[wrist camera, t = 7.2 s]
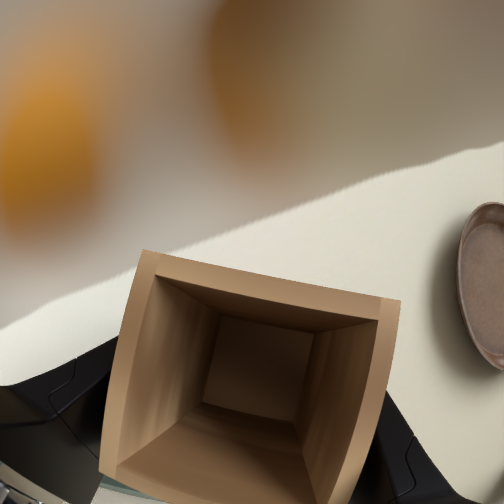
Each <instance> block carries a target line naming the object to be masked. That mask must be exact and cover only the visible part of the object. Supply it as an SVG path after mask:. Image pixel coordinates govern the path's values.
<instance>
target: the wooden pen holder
mask: <svg viewBox="0 0 504 504" xmlns="http://www.w3.org/2000/svg"><path fill="white" fill-rule="evenodd" d="M400 305H401V301H400V300H394V299H388V298H382V297H377V296H371V295H365V294H360V293H354V292H349V291H344V290H338V289H333V288H327V287H322V286H317V285H312V284H306V283H301V282H296V281H291V280H286V279H281V278H276V277H271V276H266V275H261V274H256V273H251V272H246V271H241V270H236V269H231V268H226V267H222V266H217V265H212V264H207V263H203V262H198V261H193V260H189V259H184V258H179V257H175V256H170V255H166V254H161V253H157V252H152V251H148V250H143V251H142V254H141V257H140V260H139V263H138V266H137V270H136V273H135V276H134V280H133V283H132V287H131V290H130V294H129V297H128V301H127V305H126V309H125V313H124V316H123V321H122V325H121V329H120V333H119V337H118V342H117V346H116V351H115V356H114V361H113V366H112V371H111V376H110V382H109V387H108V393H107V400H106V406H105V413H104V421H103V429H102V437H101V447H100V459H99V472H101V473H103V474H105V475H106V476H108V477H110V478H112V479H114V480H116V481H118V482H120V483H122V484H124V485H127V486H129V487H131V488H133V489H135V490H138V491H140V492H142V493H145V494H147V495H149V496H152V497H154V498H157V499H159V500H162V501H165V502H168V503H170V504H348V502H349V500H350V498H351V495H352V493H353V491H354V488H355V486H356V484H357V481H358V479H359V476H360V473H361V471H362V468H363V466H364V463H365V460H366V457H367V454H368V451H369V448H370V445H371V442H372V439H373V436H374V433H375V430H376V426H377V423H378V419H379V416H380V412H381V408H382V404H383V400H384V396H385V392H386V388H387V384H388V379H389V374H390V369H391V364H392V359H393V354H394V348H395V342H396V336H397V329H398V322H399V314H400Z"/></svg>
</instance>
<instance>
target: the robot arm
mask: <svg viewBox="0 0 504 504" xmlns="http://www.w3.org/2000/svg"><path fill="white" fill-rule="evenodd" d="M118 337H119V335H118V336H117V337H115V338H113V339H111V340H109V341H107V342H105V343H103V344H102V345H100V346H98V347H96V348H94V349H92V350H90V351H88V352H86V353H84V354H83V355H81V356H79V357H77V359H76V358H75V359H73V360H71V361H69V362H67V363H65V364H63V365H61V366H59V367H57V368H55V369H53V370H50V371H48V372H46V373H43V374H41V375H38V376H35V377H33V378H30V379H28V380H25V381H22V382H20V383H17V384H14V385H9V386H0V504H62V503H63V501H66V502H68V503H70V504H90V503H91V501H92V499H93V497H94V495H95V493H96V491H97V489H98V487H99V485H100V483H101V481H102V479H103V477H104V475H105V474H103V473H101V472H99V459H100V447H101V437H102V429H103V421H104V413H105V406H106V400H107V393H108V387H109V382H110V376H111V371H112V366H113V361H114V356H115V351H116V346H117V342H118ZM348 504H480V503H477V502H474V501H471V500H468V499H466V498H464V497H462V496H461V495H459V494H458V493H457V492H456V491H455V490H454V489H453V488H452V487H451V485H450V484H449V483H448V482H447V480H446V479H445V478H444V476H443V475H442V474H441V472H440V471H439V470H438V469H437V467H436V466H435V465H434V463H433V462H432V460H431V459H430V458H429V456H428V455H427V453H426V452H425V450H424V449H423V447H422V446H421V444H420V443H419V441H418V439H417V438H416V436H414V433H413V431H412V430H411V428H410V427H409V425H408V423H407V422H406V420H405V419H404V417H403V415H402V414H401V412H400V411H399V409H398V408H397V406H396V404H395V403H394V401H393V400H392V398H391V397H390V395H389V394H388V392H387V391H386V392H385V396H384V400H383V404H382V408H381V412H380V416H379V419H378V423H377V426H376V430H375V433H374V436H373V439H372V442H371V445H370V448H369V451H368V454H367V457H366V460H365V463H364V466H363V468H362V471H361V473H360V476H359V479H358V481H357V484H356V486H355V488H354V491H353V493H352V495H351V498H350V500H349V502H348Z"/></svg>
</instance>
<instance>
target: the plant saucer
mask: <svg viewBox="0 0 504 504" xmlns="http://www.w3.org/2000/svg"><path fill="white" fill-rule="evenodd" d="M456 285H457V295H458V301H459V306H460V310H461V314H462V318H463V321H464V324H465V327H466V329H467V332H468V334H469V336H470V338H471V340H472V342H473V343H474V345H475V347H476V348H477V350H478V351H479V352H480V354H481V355H482V356H483V357H484V358H485V359H486V360H487V361H488V362H489V363H490V364H491V365H492V366H494V367H496V368H497V369H500V370H503V371H504V204H502V203H499V202H487V203H484V204H482V205H480V206H478V207H477V208H476V209H475V210H474V211H473V212H472V213H471V215H470V216H469V218H468V219H467V221H466V224H465V226H464V229H463V232H462V235H461V239H460V243H459V248H458V254H457V264H456Z"/></svg>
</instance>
